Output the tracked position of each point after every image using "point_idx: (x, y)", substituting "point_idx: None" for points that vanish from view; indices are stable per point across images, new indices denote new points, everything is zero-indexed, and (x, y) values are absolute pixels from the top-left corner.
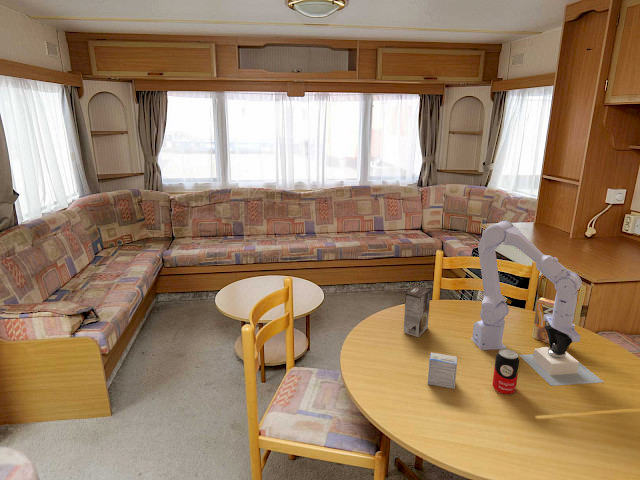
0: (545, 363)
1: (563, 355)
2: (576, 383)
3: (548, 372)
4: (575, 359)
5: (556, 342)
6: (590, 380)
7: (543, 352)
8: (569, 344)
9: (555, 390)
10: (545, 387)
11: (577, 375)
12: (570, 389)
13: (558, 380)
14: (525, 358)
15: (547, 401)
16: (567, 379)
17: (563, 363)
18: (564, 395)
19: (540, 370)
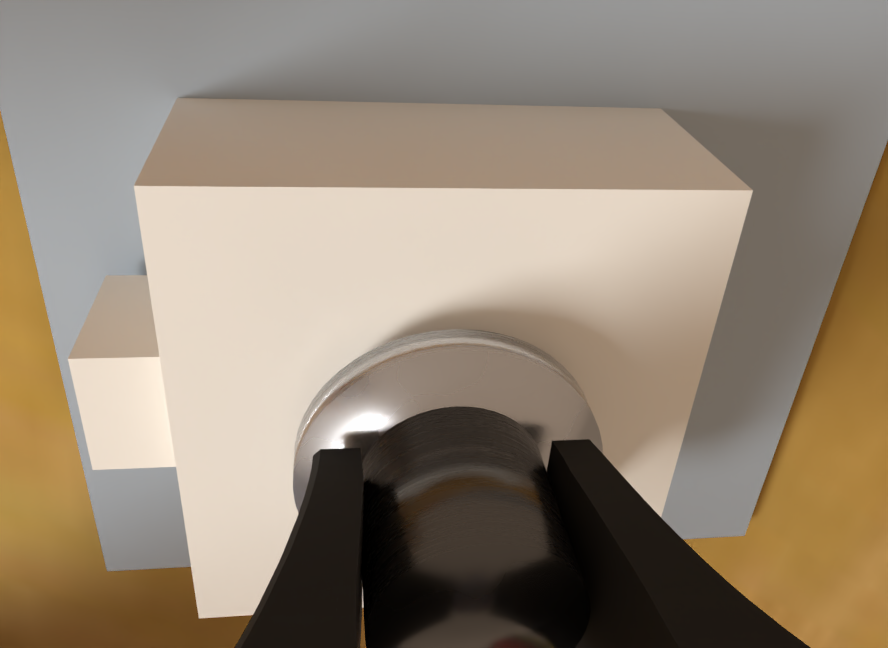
0: None
1: (593, 442)
2: (828, 278)
3: None
4: (655, 199)
5: (419, 632)
6: (869, 38)
7: None
8: (765, 628)
9: (786, 504)
10: (714, 556)
11: (703, 142)
12: (838, 369)
13: (700, 430)
14: None
15: (864, 619)
16: (725, 331)
17: (676, 447)
18: (877, 472)
19: None
